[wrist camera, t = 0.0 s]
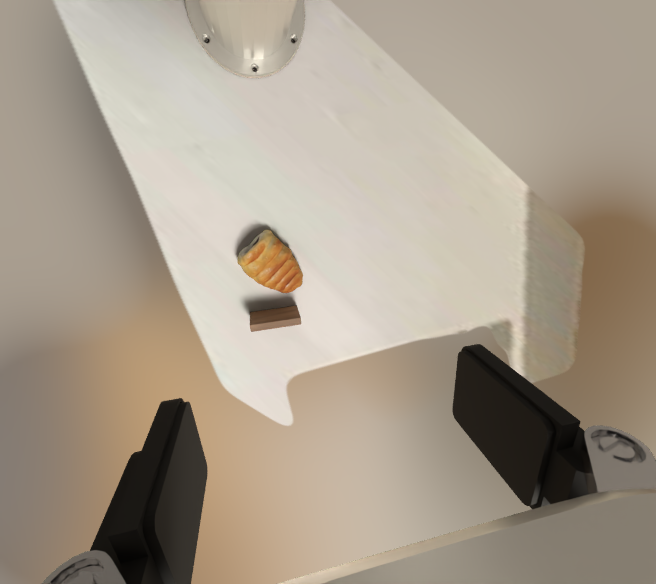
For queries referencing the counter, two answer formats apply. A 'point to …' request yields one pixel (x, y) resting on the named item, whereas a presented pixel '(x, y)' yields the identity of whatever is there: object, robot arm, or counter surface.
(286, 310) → the walnut block
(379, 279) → the counter surface
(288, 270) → the pastry
